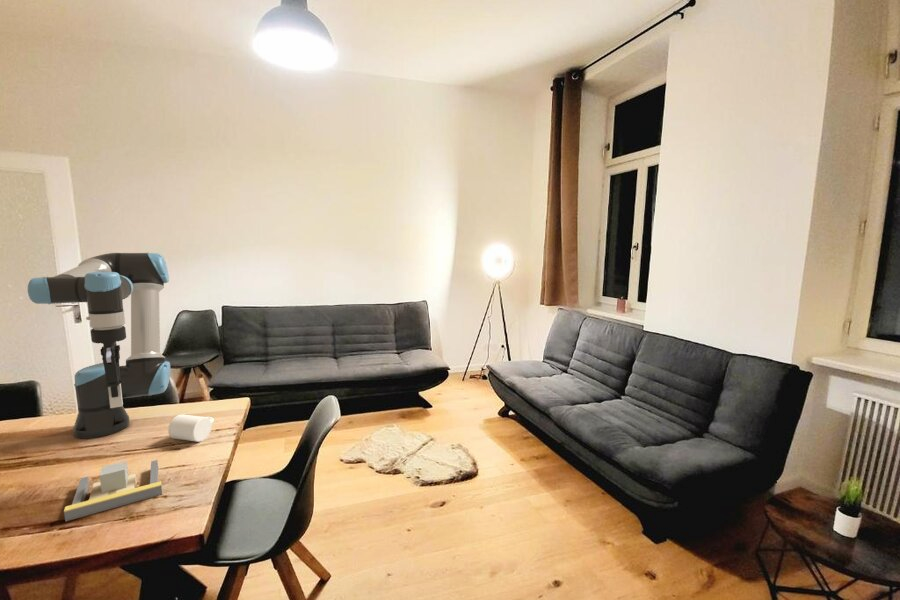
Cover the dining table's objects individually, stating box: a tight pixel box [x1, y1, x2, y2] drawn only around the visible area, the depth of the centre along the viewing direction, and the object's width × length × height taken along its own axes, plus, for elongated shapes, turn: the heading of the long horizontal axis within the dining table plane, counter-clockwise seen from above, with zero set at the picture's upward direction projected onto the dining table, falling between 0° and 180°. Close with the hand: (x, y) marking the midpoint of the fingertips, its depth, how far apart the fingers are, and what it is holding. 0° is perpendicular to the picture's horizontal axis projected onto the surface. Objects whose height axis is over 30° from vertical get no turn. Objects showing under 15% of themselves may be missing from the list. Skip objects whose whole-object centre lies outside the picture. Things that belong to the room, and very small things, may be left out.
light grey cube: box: [99, 460, 129, 493], centre depth 107 cm, size 5×5×5 cm
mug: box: [167, 414, 215, 443], centre depth 139 cm, size 12×10×8 cm
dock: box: [63, 459, 163, 522], centre depth 108 cm, size 16×19×3 cm
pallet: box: [88, 472, 138, 500], centre depth 107 cm, size 9×9×3 cm
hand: (116, 406), depth 116 cm, fingers closed
